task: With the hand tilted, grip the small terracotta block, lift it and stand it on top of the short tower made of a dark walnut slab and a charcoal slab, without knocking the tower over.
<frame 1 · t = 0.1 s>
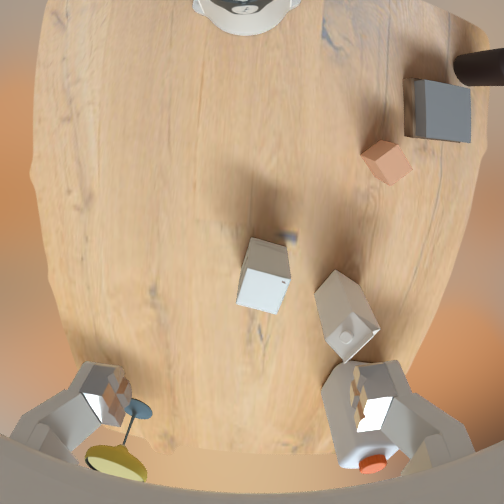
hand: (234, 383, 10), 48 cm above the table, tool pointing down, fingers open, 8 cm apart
tower base block: (427, 110, 48), on the table, touching tower top block
tower top block: (438, 111, 44), point 4 cm above the table, touching tower base block
plastic bottle: (351, 379, 75), on the table
cocktail glass: (136, 408, 85), on the table
milk carton: (336, 288, 64), on the table
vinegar: (465, 70, 43), on the table
terracotta block: (377, 158, 52), on the table
supplement box: (263, 257, 61), on the table
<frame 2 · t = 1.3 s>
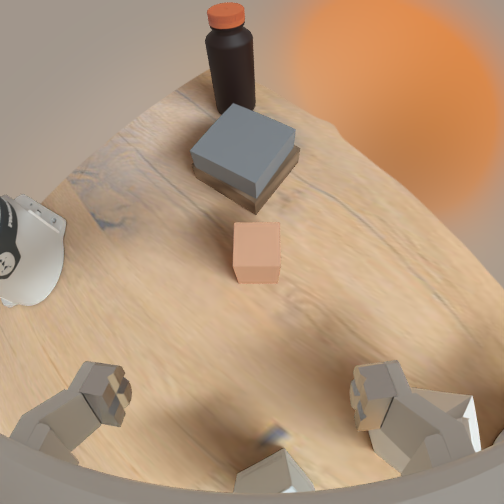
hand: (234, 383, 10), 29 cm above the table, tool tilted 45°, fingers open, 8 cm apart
tower base block: (247, 170, 46), on the table, touching tower top block
tower top block: (245, 156, 42), point 4 cm above the table, touching tower base block
milk carton: (391, 419, 34), on the table
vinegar: (236, 106, 51), on the table
terracotta block: (258, 264, 41), on the table
supplement box: (275, 479, 32), on the table
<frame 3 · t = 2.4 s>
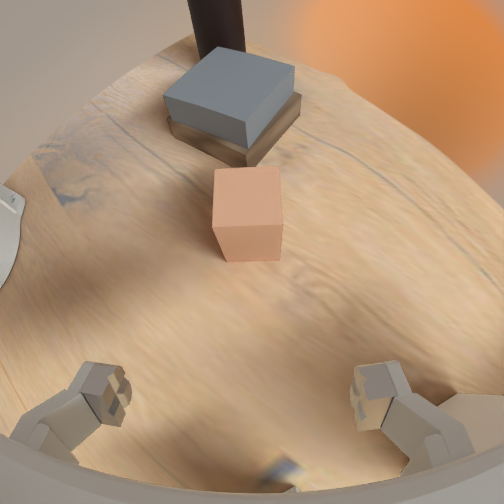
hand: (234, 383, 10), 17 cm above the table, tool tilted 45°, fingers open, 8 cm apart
tower base block: (237, 127, 36), on the table, touching tower top block
tower top block: (233, 104, 32), point 3 cm above the table, touching tower base block
milk carton: (436, 437, 22), on the table
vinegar: (224, 63, 40), on the table
terracotta block: (253, 236, 30), on the table
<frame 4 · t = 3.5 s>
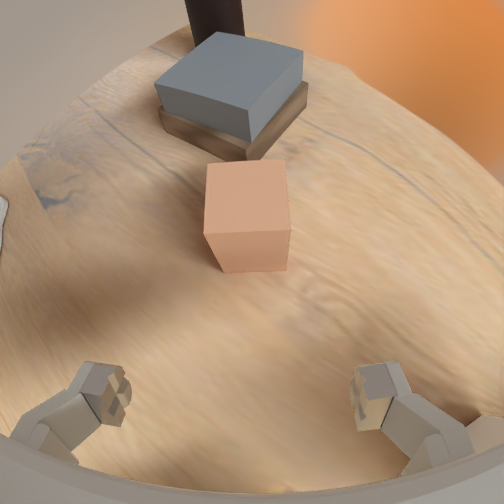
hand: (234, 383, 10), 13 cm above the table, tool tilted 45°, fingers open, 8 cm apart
tower base block: (236, 119, 32), on the table, touching tower top block
tower top block: (234, 93, 28), point 3 cm above the table, touching tower base block
milk carton: (457, 463, 18), on the table
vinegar: (222, 53, 37), on the table
terracotta block: (254, 243, 26), on the table
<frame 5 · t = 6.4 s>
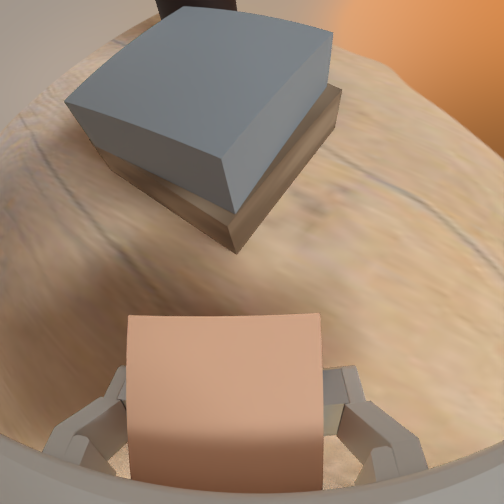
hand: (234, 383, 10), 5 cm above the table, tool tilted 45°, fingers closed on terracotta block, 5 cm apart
tower base block: (221, 148, 20), on the table
tower top block: (208, 108, 16), point 4 cm above the table
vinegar: (205, 43, 25), on the table
terracotta block: (247, 389, 14), on the table, touching gripper
when the fingers open (14 cm above the table, at t = 12.6 s): terracotta block drops 2 cm, resting on tower top block.
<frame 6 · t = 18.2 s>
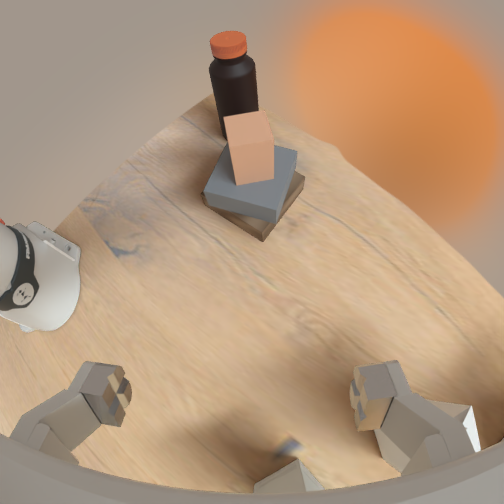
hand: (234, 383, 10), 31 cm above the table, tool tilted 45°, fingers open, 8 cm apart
tower base block: (254, 198, 49), on the table, touching tower top block
tower top block: (253, 185, 45), point 3 cm above the table, touching terracotta block, tower base block
milk carton: (398, 428, 35), on the table
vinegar: (241, 131, 53), on the table
terracotta block: (251, 167, 41), point 7 cm above the table, touching tower top block
supplement box: (290, 488, 33), on the table
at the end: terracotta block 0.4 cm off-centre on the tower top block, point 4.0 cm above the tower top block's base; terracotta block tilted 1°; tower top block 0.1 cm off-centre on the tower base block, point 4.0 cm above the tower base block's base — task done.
